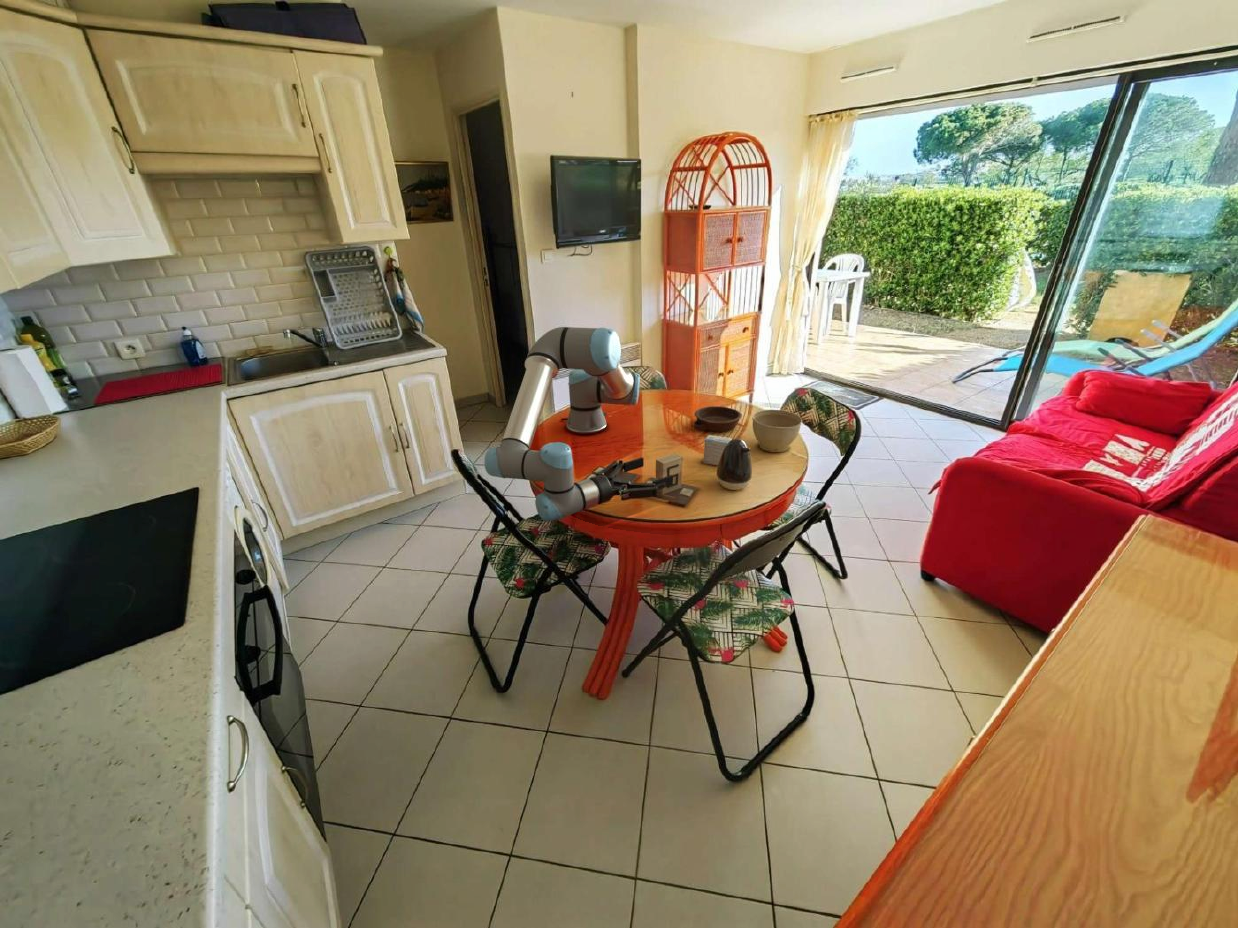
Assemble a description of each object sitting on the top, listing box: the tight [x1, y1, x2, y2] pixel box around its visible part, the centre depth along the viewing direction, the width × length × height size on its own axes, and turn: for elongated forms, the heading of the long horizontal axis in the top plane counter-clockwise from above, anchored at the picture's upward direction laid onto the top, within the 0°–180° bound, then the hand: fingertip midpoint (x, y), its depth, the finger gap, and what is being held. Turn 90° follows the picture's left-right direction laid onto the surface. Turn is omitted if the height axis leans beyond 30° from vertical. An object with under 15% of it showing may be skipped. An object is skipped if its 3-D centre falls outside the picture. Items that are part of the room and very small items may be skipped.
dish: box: [692, 405, 743, 433], centre depth 194 cm, size 17×22×5 cm
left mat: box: [583, 466, 640, 489], centre depth 157 cm, size 14×11×1 cm
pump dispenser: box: [716, 438, 753, 491], centre depth 149 cm, size 10×10×15 cm
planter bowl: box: [751, 409, 803, 453], centre depth 174 cm, size 16×16×11 cm
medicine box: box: [702, 434, 733, 466], centre depth 165 cm, size 8×4×9 cm, turn 65°
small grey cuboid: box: [655, 453, 683, 494], centre depth 148 cm, size 4×7×10 cm, turn 124°
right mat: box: [645, 476, 698, 508], centre depth 149 cm, size 15×11×1 cm
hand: (657, 470), depth 145 cm, fingers open, 13 cm apart
